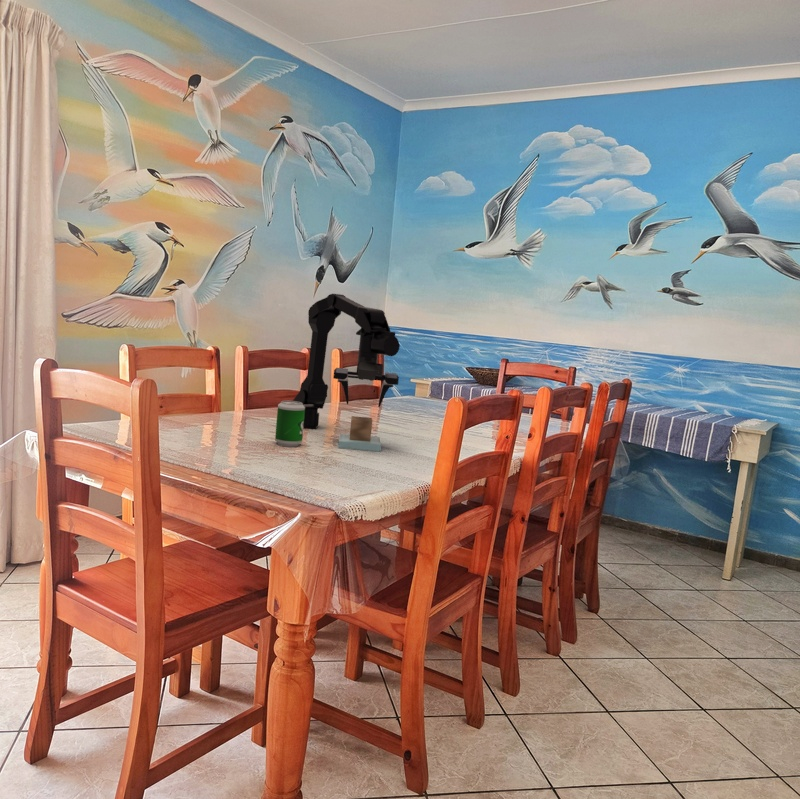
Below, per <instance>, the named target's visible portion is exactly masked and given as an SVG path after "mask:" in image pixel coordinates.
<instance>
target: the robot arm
mask: <svg viewBox="0 0 800 799" xmlns="http://www.w3.org/2000/svg"><path fill="white" fill-rule="evenodd" d="M342 313H344V314H345V315H348V316H350V317H351V318H353V319H354V322H355V323H356V324H357V325H358V326H359V327H360V329H359V330H357V331H356V332H355V334H356V335H357V336H359V344H358V357H357V365H356V371H349V368H346V367H344V368H343V367H336V368H335V369H333V379H335V380H337V383H340V384H341V386H342V388H343V392H344V396H345V401H346V404H347V405H349V402H350V401H349V400H350V398H349V397H350V395H349V394H350V392H349V379H348V378H350V379H351V378H352V379H357V380H358V379H359V380H367V381H371V382H372V381H381V382H382V381H383V382H382V385H381V389H380V394H379V398H378V407H377V408H380V407H381V405H382V403H383V400H384V397H385V395H386V394H387V393H388V390H389V389H390V388H394V385H397V386H398V385H399V379H400V378H399V375H398V374H397V373H396V372H395V373H393V372H386V371H385V372H384V374H383V370H384V364H383V363H378V361H379V360H378V359H379V355H381V356H385V357H394V356H396V355H397V354H398V352H399V350H400V347H401V346H400V341H399V339H398V338H397V337H396V332H395V331H391V327H390V326H389V323H388V321H387V320H388V319H387V317H386V313H385V312H384V310H383V309H379V308H373V307H366V306H364V305H363V304H360V303H358V302H356V301H354V300H352V299H350V298H349V297H346V295H344V294H340V293H330V294H329V295H327V296H326V297H324V298H322V299H320V300H318V301H316V302H314V303H313V304H312V305H311V306H310V307H309V308H308V313H307V314H308V325H309V328H310V329H311V331H312V333H311V339H310V340H311V342H310V349H309V358H308V365H307V373H306V376H305V378H304V380H303V381H302V382H301V384H300V389H299V392H298V393H297V394H296V396H295V397H294V398H293V400H292V401H297V402H301V403H303V405H304V406H305V415H304V427H303V429H317V428H318V427H319V422H320V412H319V409H321V410H323V409H324V406H325V403H326V399H327V397H328V389H329V385H328V384H326V382H325V381H324V378H323V377H324V368H325V363H326V362H325V361H326V354H327V345H328V338H329V334H330V332H331V331H332V329H333V327H335V322H336V319H337V318H338V317H339V316H340V315H341V314H342Z"/></svg>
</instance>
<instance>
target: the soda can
mask: <svg viewBox="0 0 800 799" xmlns="http://www.w3.org/2000/svg"><path fill="white" fill-rule="evenodd" d="M304 405H305V404H304ZM304 405H303V403H301V402H297V401H293V400H282V401H280V403H278V405H277V409H276V410H277V414H276V425H275V435H274V438H275V439H274V440H275V442H276V443H277V445H279V446H281V447H289V448H291V447H292V448H295V447H298V446H300V444H302V443H303V437H304V428H303V427H304V415H305V406H304Z"/></svg>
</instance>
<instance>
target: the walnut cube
mask: <svg viewBox="0 0 800 799" xmlns="http://www.w3.org/2000/svg"><path fill="white" fill-rule="evenodd" d="M350 419H351V421H350V429H349V430H350V431H349V434H350V440H358V441H369V442H370V440H371V436H372V430H373V418H372V417H366V416H365V417H364V416H356V415H354V416H353V415H351V418H350Z"/></svg>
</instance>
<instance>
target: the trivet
mask: <svg viewBox="0 0 800 799" xmlns="http://www.w3.org/2000/svg"><path fill="white" fill-rule="evenodd" d="M337 447H338V449H346V450H355V451H356V450H357V451H369V452H377V453H378V452H379V453H380V452H381V448H382V442H381V437H380V436H373V435H371V440H370V442H369V441H358V440H350V433H339V436H338V446H337Z"/></svg>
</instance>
